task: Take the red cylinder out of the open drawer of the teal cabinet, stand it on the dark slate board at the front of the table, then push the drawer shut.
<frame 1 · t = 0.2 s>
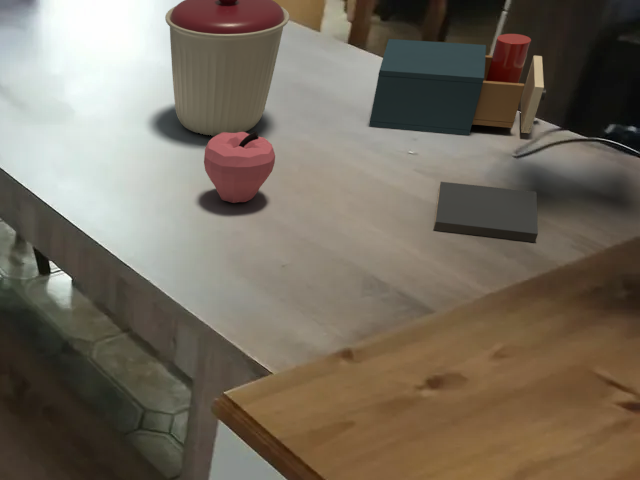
red cylinder: (495, 106, 143), point 2 cm above the table, touching drawer
board: (484, 214, 121), on the table
cabinet: (421, 112, 147), on the table
canister: (218, 125, 148), on the table
apple: (235, 200, 128), on the table
drawer: (492, 90, 141), point 4 cm above the table, slide at 7.0 cm, touching red cylinder
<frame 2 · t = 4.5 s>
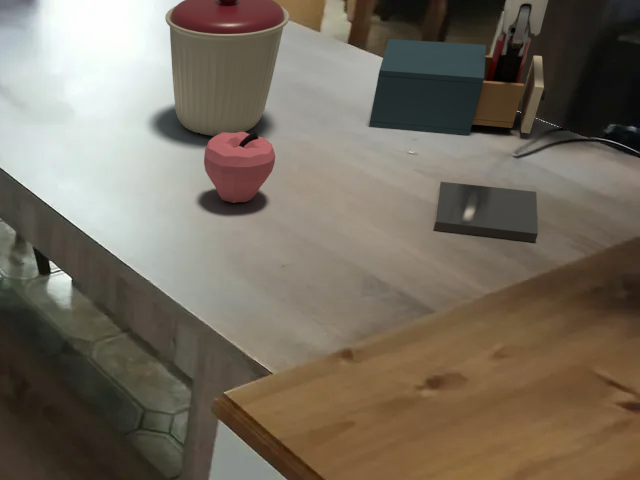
hand: (504, 74, 139), 7 cm above the table, tool pointing down, fingers closed on red cylinder, 4 cm apart
red cylinder: (495, 106, 143), point 2 cm above the table, touching drawer, gripper
everything else where it was.
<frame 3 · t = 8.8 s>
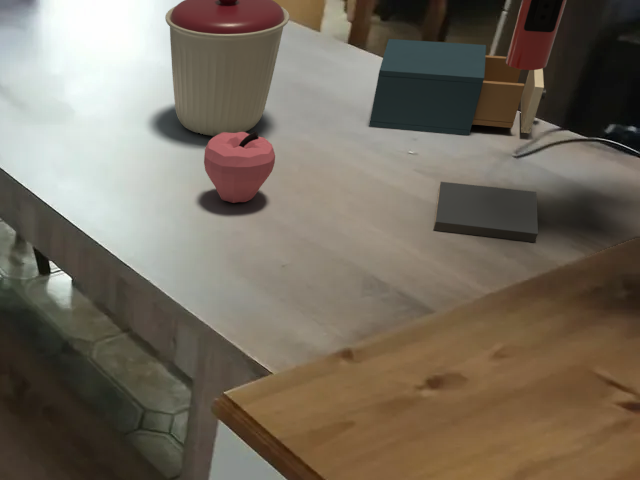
hand: (538, 21, 108), 23 cm above the table, tool pointing down, fingers closed on red cylinder, 4 cm apart
red cylinder: (525, 63, 111), point 18 cm above the table, touching gripper
drawer: (492, 90, 141), point 4 cm above the table, slide at 7.0 cm
everything else where it was.
when the fingers open (6 cm above the table, at t = 13.2 s): red cylinder stays where it is, resting on board.
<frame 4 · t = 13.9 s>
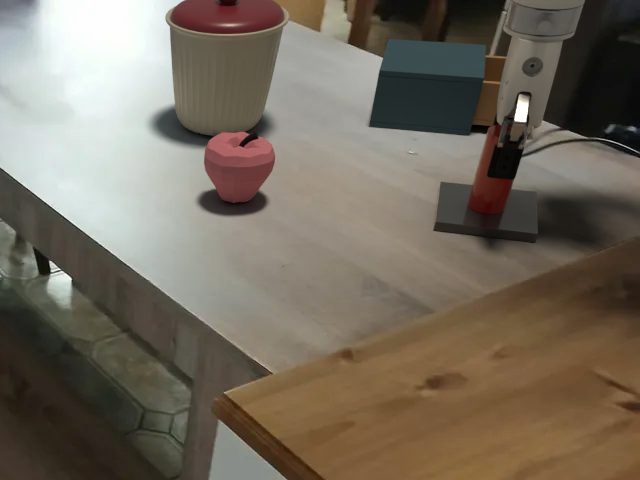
hand: (500, 161, 116), 7 cm above the table, tool pointing down, fingers open, 9 cm apart
red cylinder: (486, 206, 121), point 1 cm above the table, touching board
everything else where it was.
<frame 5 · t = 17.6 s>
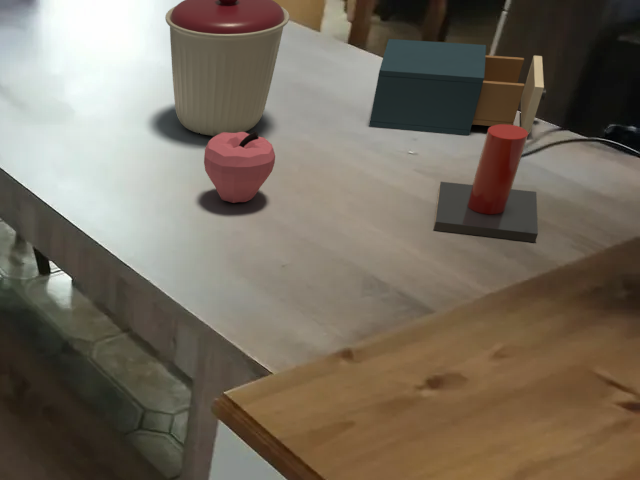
nothing on the table moved.
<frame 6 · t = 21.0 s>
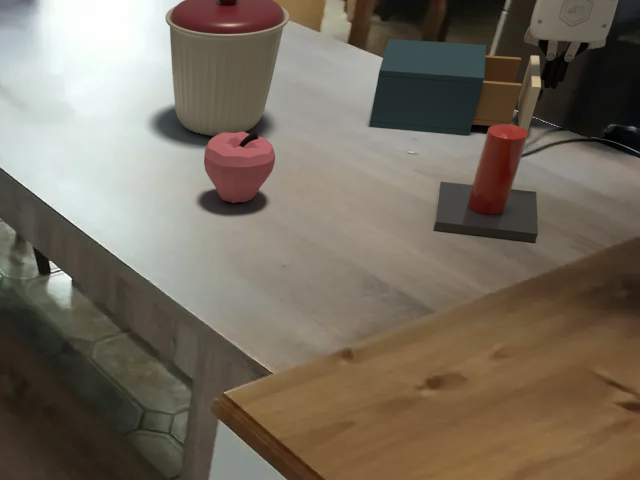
hand: (549, 85, 138), 6 cm above the table, tool pointing down, fingers closed
drawer: (489, 90, 142), point 4 cm above the table, slide at 6.6 cm, touching gripper
everything else where it was.
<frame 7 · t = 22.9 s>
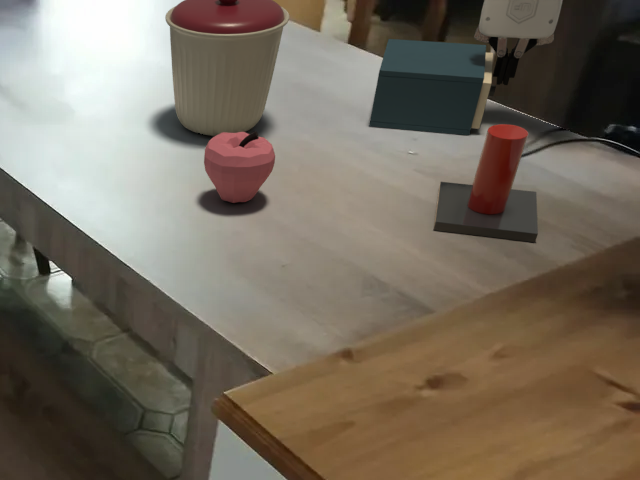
hand: (502, 81, 140), 6 cm above the table, tool pointing down, fingers closed
drawer: (443, 86, 144), point 4 cm above the table, slide at 0.0 cm, touching cabinet, gripper
everything else where it was.
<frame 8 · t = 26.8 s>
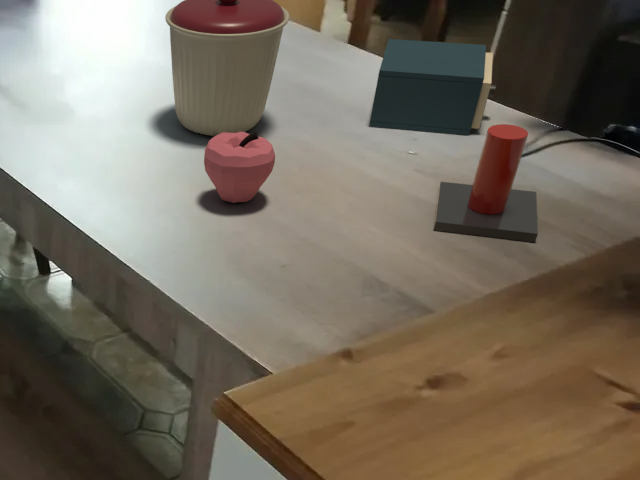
drawer: (443, 86, 144), point 4 cm above the table, slide at 0.0 cm
everything else where it was.
at the end: red cylinder inside the target area on the board (0.1 cm from its centre), point 1.2 cm above the board's base; red cylinder tilted 0°; drawer slide at 0.0 cm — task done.
